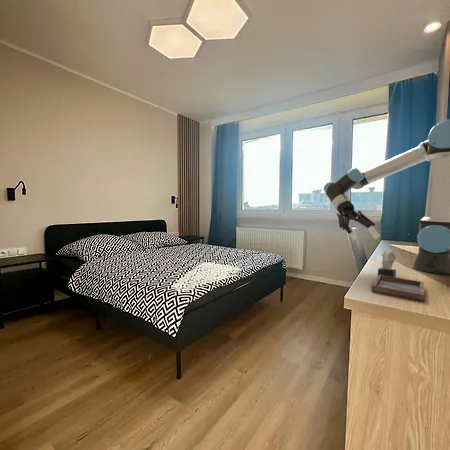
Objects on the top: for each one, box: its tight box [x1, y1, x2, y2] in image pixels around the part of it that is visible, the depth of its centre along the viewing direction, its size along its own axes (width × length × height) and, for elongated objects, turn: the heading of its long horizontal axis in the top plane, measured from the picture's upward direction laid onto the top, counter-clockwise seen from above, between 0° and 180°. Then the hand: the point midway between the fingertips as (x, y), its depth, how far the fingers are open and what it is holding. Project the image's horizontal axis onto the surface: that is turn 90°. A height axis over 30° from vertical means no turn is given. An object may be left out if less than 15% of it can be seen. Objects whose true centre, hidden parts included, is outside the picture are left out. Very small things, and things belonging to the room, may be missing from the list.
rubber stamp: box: [377, 250, 397, 277], centre depth 103 cm, size 6×8×11 cm
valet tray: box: [370, 274, 425, 303], centre depth 86 cm, size 18×14×2 cm
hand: (367, 238), depth 112 cm, fingers open, 13 cm apart
